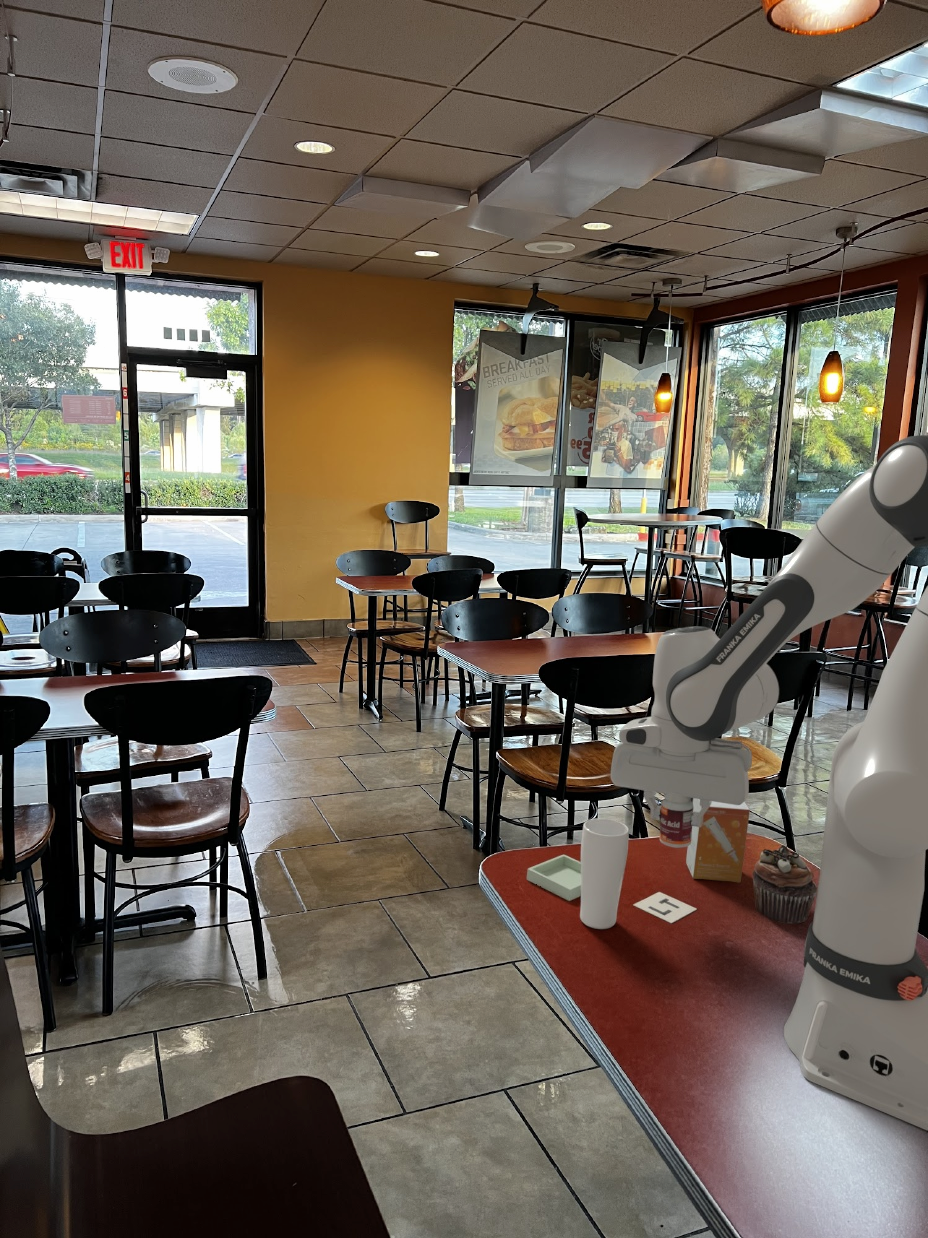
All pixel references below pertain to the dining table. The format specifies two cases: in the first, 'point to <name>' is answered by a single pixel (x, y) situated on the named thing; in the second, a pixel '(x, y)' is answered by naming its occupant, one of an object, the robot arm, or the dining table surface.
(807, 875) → the cupcake
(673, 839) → the pill bottle
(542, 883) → the sage tray
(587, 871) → the drinking glass
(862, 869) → the robot arm
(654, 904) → the coaster
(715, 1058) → the dining table surface
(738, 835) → the small box
